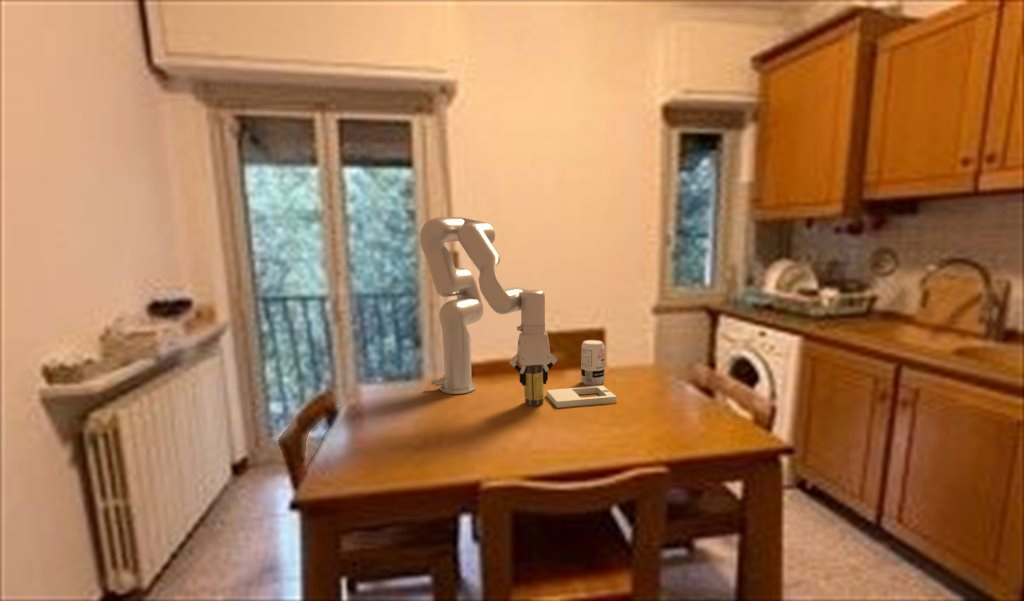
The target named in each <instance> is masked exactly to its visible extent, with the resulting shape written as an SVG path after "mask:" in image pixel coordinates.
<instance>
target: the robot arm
mask: <svg viewBox="0 0 1024 601" xmlns="http://www.w3.org/2000/svg"><path fill="white" fill-rule="evenodd" d="M420 230H421V231H420V235H419V237H420V238H419V241H420V242H419V243H420V245H421V249H422V252H423V254H424V256H425V259H426V261H427V264H428V269H429V272H430V275H431V279H432V282H433V284H434V288H435V290H436V292H437V294H438V295H439V296H440V297H442V298H451V297H454V296H456V299H451V300H449V301H447V302H445V303H444V304H442V306H441V307H440V309H439V312H438V315H439V323H440V326H441V331H442V334H441V335H442V346H443V347H442V348H443V352H442V353H443V375H442V377H439V378H431V379H430V382H431V385H435V386H436V387H438V386H440V387H439V389H440V391H441V392H442V393H444V394H450V395H462V394H463V395H464V394H468V393H472V392H474V391H475V390H476V389H477V384H476V382H473V381H472V348H471V347H472V346H471V342H472V340H471V336H470V332H469V329H468V327H467V326H469V325H471V324H474V323H476V322H479V321H480V320H481V319H482V318H483V314H484V306H483V302H482V298H481V294H482V296H483V297H484V300H485V301H486V303H487V304H488V306H489V307H490V308H491V309H492V310H493V311H494V312H495V313H496V314H499V315H507V314H510V313H511V314H512V313H514V312H518V311H520V313H521V315H520V316H521V317H520V318H521V320H520V322H521V323H520V325H519V326H516V331H517V332H518V331H519V333H518V334H519V335H518V341H517V350H516V353H515V355H513V357H512V358H511V359H510V360H509V362H508V363H509V364H510V365H511V366H512V368H514V369H515V370H516V371H517V372H518V373H519V383H521V386H523V387H524V386H525V385H526V384H525V373H524V371H525V368H526V366H532V365H543V385H547V381H548V379H549V378H548V377H549V374H548V372H549V371H550V370H551V369H552V367H553V366H554V365H555V364H556V363H557V361H558V358H557V357H556V356H554V354H552V353H551V347H550V346H551V344H550V339H549V334H548V332H546V297H545V296H546V295H545V293H544V291H543V290H539V289H525V288H523V287H512V288H506V289H504V287H503V286H502V285H501V283H500V282H499V280H498V276H497V273H496V272H497V271H496V268H497V267H498V265H499V264H500V261H501V257H500V255H499V253H498V252H497V250H496V249H495V247H494V246H493V243H494V242H495V240H496V233H495V229H494V228H493V227H492V226H491V225H490V223H487V222H485V221H480V220H475V219H471V218H466V217H461V216H439V217H435V218H431V219H429V220H427V221H426V222H425V223H424V224H423V226H422V227H421V229H420ZM449 242H450V243H451V242H459V244H460V245H461V247H462V248H463V249H464V251H465V252H466V254H467V255H468V256H467V257H468V258H469V259H470V260H471V262H472V264H473V265H474V267H475V268H476V270H477V273H478V277H477V278H478V284H479V288H478V285H477V281H476V279H475V277H474V274H473V273H472V272H471V271H470V270H469V269H468V268H465V267H456V266H455V264H454V261H453V256H452V254H451V252H450V251H449V249H448V248H447V247H446V246H445V244H444V243H449ZM479 289H480V290H479ZM479 291H480V292H479ZM480 293H481V294H480ZM516 362H518V364H519V365H518V364H517V363H516Z"/></svg>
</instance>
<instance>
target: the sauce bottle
mask: <svg viewBox="0 0 1024 601" xmlns="http://www.w3.org/2000/svg"><path fill="white" fill-rule="evenodd" d="M524 373H525V384H526V385H525V386H523V387H524V391H523V393H524V402H525V404H526V405H527V406H532V407H533V406H534V407H535V406H540V405H542V404H543V403H544V401H545V400H544V396H545V394H544V393H545V392H544V383H543V365H532V366H526V368H525V371H524Z"/></svg>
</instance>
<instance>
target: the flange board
mask: <svg viewBox="0 0 1024 601" xmlns="http://www.w3.org/2000/svg"><path fill="white" fill-rule="evenodd" d="M589 394H591V395H592V394H598V395H599V396H589V397H587V396H586V397H581V396H580V395H589ZM546 397H547V398H548V399H549V401H550V402H552V404H553V405H554V406H555V407H556V408H558V409H559V408H571V407H580V406H589V405H590V406H593V405H603V404H612V403H613V404H614V403H617V396H616V395H615V394H614V393H613V392H611V391H610V390H609V389H608V388H607V387H605V386H604V385H596V386H591V385H590V386H581V387H579V386H578V387H568V388H557V389H546Z"/></svg>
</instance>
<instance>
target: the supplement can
mask: <svg viewBox="0 0 1024 601" xmlns="http://www.w3.org/2000/svg"><path fill="white" fill-rule="evenodd" d="M604 344H605V343H604V342H603V341H602V340H599V339H598V340H597V339H587V340H583V342H582V344H581V348H580V349H581V351H580V355H581V356H580V358H581V359H580V368H581V369H580V381H581V382H582V384H583V385H585V386H590V387H591V386H602V384H603V383H604V382H605V355H606V348H605V347H606V346H605V345H604Z"/></svg>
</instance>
